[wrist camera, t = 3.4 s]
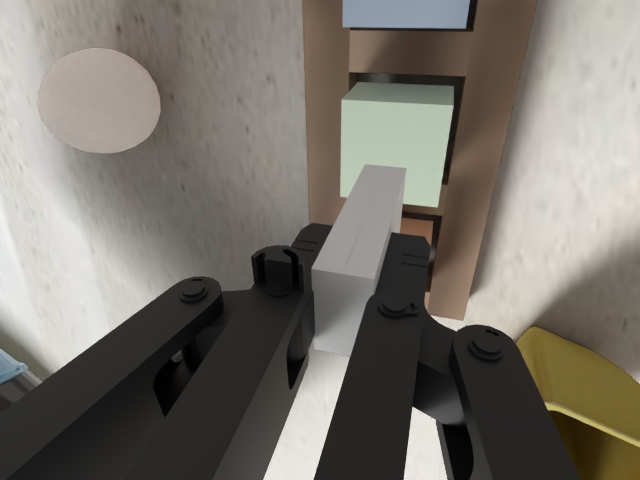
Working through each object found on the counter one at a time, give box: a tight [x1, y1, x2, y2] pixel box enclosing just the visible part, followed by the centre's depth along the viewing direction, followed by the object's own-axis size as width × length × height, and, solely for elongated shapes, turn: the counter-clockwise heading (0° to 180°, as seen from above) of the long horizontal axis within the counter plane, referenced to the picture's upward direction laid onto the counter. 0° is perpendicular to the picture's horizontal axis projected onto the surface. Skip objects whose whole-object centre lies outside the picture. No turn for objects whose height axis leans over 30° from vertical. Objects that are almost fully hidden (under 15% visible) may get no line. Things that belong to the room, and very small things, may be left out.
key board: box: [302, 0, 537, 321], centre depth 24 cm, size 11×26×2 cm, turn 1°
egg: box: [37, 48, 161, 154], centre depth 25 cm, size 6×6×8 cm
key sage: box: [340, 82, 454, 207], centre depth 21 cm, size 5×5×4 cm
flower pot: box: [515, 327, 640, 480], centre depth 27 cm, size 9×9×9 cm
